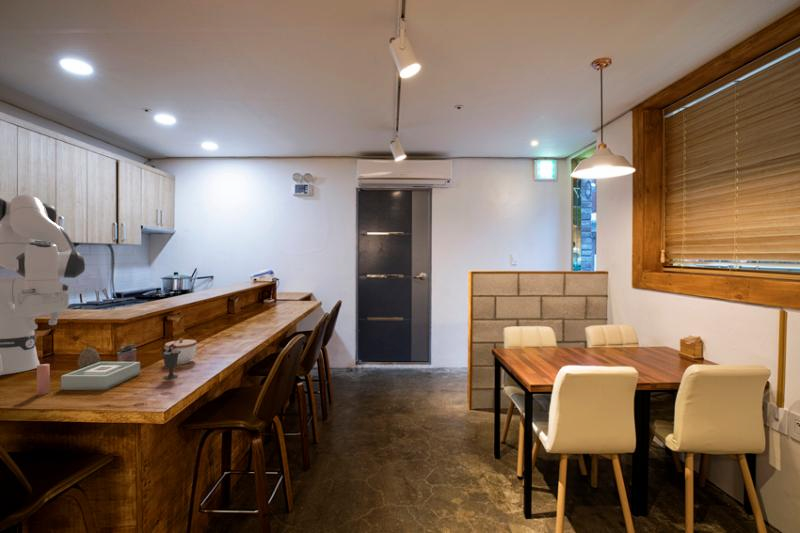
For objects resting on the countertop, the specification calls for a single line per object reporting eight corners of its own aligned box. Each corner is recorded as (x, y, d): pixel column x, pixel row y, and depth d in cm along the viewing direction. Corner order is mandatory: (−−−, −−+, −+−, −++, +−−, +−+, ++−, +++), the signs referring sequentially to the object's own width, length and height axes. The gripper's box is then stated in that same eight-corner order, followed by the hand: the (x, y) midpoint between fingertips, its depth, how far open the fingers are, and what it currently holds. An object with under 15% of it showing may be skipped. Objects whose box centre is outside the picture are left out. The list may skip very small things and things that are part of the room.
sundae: (184, 376, 148) (184, 339, 147) (166, 381, 142) (166, 343, 142) (175, 373, 151) (175, 337, 151) (157, 378, 145) (157, 341, 145)
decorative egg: (102, 370, 155) (102, 346, 154) (81, 374, 149) (80, 350, 148) (96, 367, 158) (96, 344, 158) (75, 371, 152) (75, 347, 152)
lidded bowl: (174, 358, 173) (174, 335, 173) (201, 358, 174) (201, 335, 174) (158, 366, 161) (158, 341, 160) (188, 366, 161) (188, 341, 161)
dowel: (34, 394, 127) (34, 366, 126) (43, 391, 130) (42, 363, 129) (43, 394, 127) (43, 366, 126) (52, 391, 130) (52, 363, 130)
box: (61, 389, 132) (61, 375, 132) (100, 373, 150) (100, 361, 150) (106, 389, 132) (106, 376, 132) (140, 373, 150) (140, 361, 150)
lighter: (121, 371, 154) (121, 347, 153) (115, 370, 154) (114, 347, 154) (138, 365, 161) (138, 343, 161) (132, 364, 162) (132, 342, 162)
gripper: (30, 290, 118) (30, 332, 118) (72, 285, 138) (72, 322, 138) (6, 290, 117) (7, 333, 117) (52, 285, 136) (53, 322, 137)
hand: (43, 327), depth 128 cm, fingers open, 8 cm apart
